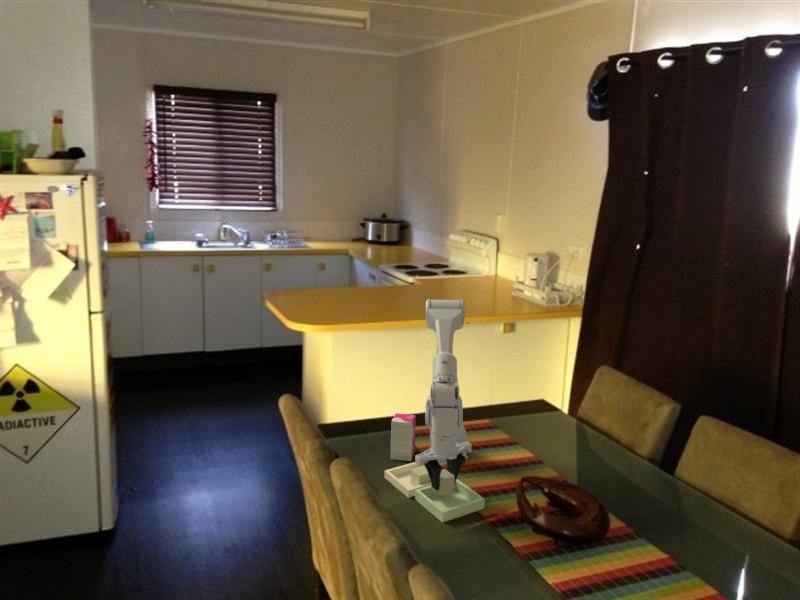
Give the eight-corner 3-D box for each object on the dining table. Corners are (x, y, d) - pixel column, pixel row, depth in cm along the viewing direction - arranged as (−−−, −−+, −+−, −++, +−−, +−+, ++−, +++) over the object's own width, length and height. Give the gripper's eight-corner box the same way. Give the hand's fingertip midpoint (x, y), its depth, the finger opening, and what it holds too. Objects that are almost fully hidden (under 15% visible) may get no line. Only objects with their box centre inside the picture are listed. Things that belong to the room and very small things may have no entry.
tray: (423, 468, 178) (423, 459, 178) (448, 487, 169) (448, 478, 168) (384, 479, 173) (384, 470, 172) (408, 500, 163) (408, 490, 162)
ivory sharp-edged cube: (424, 480, 171) (424, 465, 170) (433, 487, 168) (433, 472, 167) (410, 484, 169) (410, 469, 168) (419, 491, 166) (419, 476, 165)
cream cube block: (444, 484, 165) (445, 468, 164) (454, 491, 161) (454, 475, 160) (430, 488, 163) (431, 473, 162) (440, 495, 159) (440, 480, 158)
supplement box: (411, 463, 181) (411, 423, 179) (390, 461, 182) (389, 421, 180) (415, 453, 187) (416, 414, 184) (394, 451, 188) (394, 412, 185)
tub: (455, 488, 168) (455, 477, 167) (484, 510, 158) (484, 498, 157) (415, 501, 162) (415, 490, 162) (442, 524, 152) (442, 512, 152)
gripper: (427, 445, 151) (426, 501, 154) (479, 431, 158) (478, 485, 162) (410, 434, 157) (410, 488, 160) (462, 421, 164) (461, 472, 167)
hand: (443, 485), depth 161 cm, fingers closed on cream cube block, 4 cm apart
